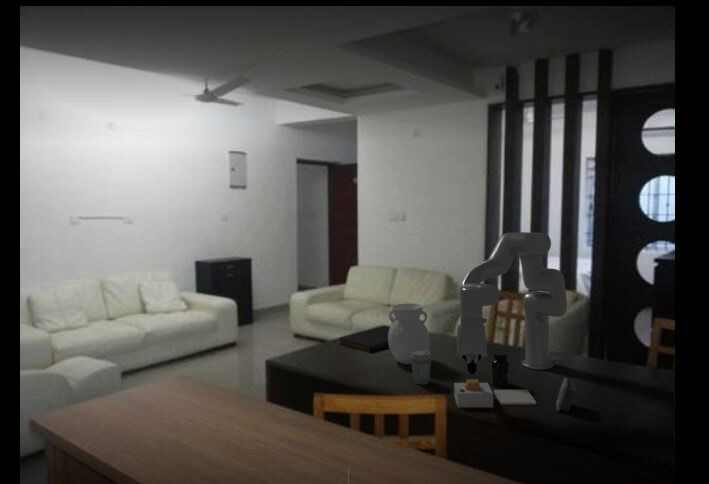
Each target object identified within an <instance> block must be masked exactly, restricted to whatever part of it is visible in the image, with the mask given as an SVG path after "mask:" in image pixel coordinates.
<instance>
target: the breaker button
mask: <svg viewBox="0 0 709 484" xmlns="http://www.w3.org/2000/svg"><path fill="white" fill-rule="evenodd" d="M465 383H466V390H467V391H475V390H480V383H481V382H480V381H479V379H477V378H476V379H475V378H474V379H473V378H472V379H471V378H469V379H466V381H465Z"/></svg>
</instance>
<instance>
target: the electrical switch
mask: <svg viewBox="0 0 709 484" xmlns="http://www.w3.org/2000/svg"><path fill="white" fill-rule="evenodd" d="M575 394H576V383H575V382H572V381H569V380H568V378H567V377H563V379H562V383H561V386H560V389H559V391H558V396H557V398H556V411H557V412H560V411H563V412H567V413H569V412H570V409H571V406H572V403H573V401H574V397H575Z"/></svg>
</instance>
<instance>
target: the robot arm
mask: <svg viewBox="0 0 709 484" xmlns="http://www.w3.org/2000/svg"><path fill="white" fill-rule="evenodd" d="M551 240H552V239H551V238H550V236H549V235H548V233H545V232H527V231H526V232H523V231H519V232H517V231H516V232H505V233H503V234H501V235H500V236H499V237H498V240H497V242H496V244H495V245H494V247H493V249H492V250H491V253H490V255H489V257H488V258H487V259H486V260H485V261H483V262H481V263H480V264H478V265H477V266H475V267H474V268H472V269H471V270H470V271H469V272H468V273H467V274H466V276H465V278H464V280H463V281H462V283H461V286H460V289H459V297H460V299H459V301H460V303H459V304H460V305H459V306H460V309H459V311H460V312H459V313H460V324H458V326H457V332H456V343H455V344H456V345H455V346H456V354H455V356H456V358H459V359H463V360H464V361H465V362H466V365H467V366H466V369H467V370H466V371H467V372H468V373H469V376H471V375H474V376H475V375H476V372H477V370H478V369H477V367H478V366H477V364H478V362H479V361H481V359H484V358H485V359H486V358H487V357H488V353H487V352H488V343H487V333H486V327H485V325H484V324H485V323H487V322H488V319H487V318H484V317H483V307H489V306H494V305H496V304H497V303H498V302H499V301H500V298H501V291H500V289H499V288H498V286H496V285H494V284H488V283H482V282H484V281H486V280H489V279H492V278H496V277H499V276H502V275H504V274H506V273H508V272H509V271H510V268H511V266H512V264H513V262H514V260H515V259H516V256H518V258H519V261H520V264H521V273H522V278H523V283H524V286H525V288H526V289H528V290H531V291H528V292H526V293H525V294H524V295H523V297H522V308H523V312H524V320H525V321H524V323H525V327H524V328H525V330H524V332H525V333H524V335H525V337H524V338H525V339H524V340H525V358H524V359H522V361H521V364H522V366H523V367H525V368H527V369H531V370H538V371H539V370H541V371H542V370H549V369H552V368H553V367H554V362H562V357H561V356H556V355H551V354H550V323H549V320H548V319H547V317H555V318H559V317H563V316H564V315H566V313H567V310H568V300H567V293H566V282H565V277H564V274H563V273H562V271H560V270H559V269H556V268H551V267H550V268H548V267H545V266H544V261H543V255H546V254H548V252H549V251H550V249H551V246H552V241H551ZM471 356H473V357H472V360H471Z"/></svg>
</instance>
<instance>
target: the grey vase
mask: <svg viewBox="0 0 709 484" xmlns="http://www.w3.org/2000/svg"><path fill="white" fill-rule="evenodd" d="M423 308H424V307H423V306H422V305H420V304H419V303H401V304H395V305H393V306H392V310H391V311H390V312H389V314H388V318H389V320H390V322H391V324H390V326H389V327H390V329H389V333H388V343H389V350H390V353H391V354H392V355H393V357H394V359H396V360H397V361H398V362H399V363H400V364H403V365H412V363H411V358H410V355H411V352H412V351H414V350H427V351H430V348H431V347H430V346H431V345H430V344H431V339H430V333H429V330H428V327H427V326H426V324H425V323H426V321H427V320H428V314H427V312H426V311H424V310H423ZM422 315H423V316H424V319H422V320H421V319H420V316H422Z"/></svg>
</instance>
